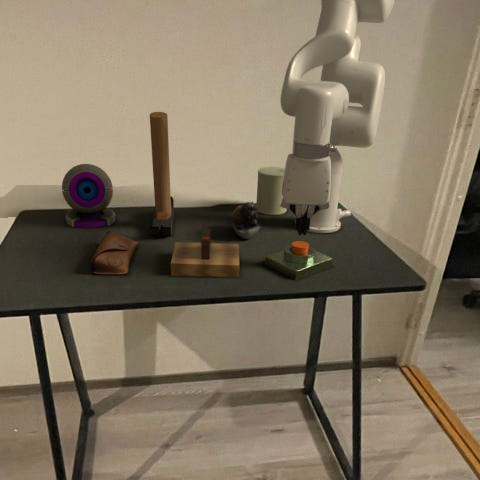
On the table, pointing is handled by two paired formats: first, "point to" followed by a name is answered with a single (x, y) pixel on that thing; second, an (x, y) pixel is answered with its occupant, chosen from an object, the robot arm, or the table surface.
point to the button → (300, 247)
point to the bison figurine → (246, 220)
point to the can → (270, 190)
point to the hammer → (161, 175)
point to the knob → (206, 243)
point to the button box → (298, 262)
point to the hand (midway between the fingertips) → (301, 232)
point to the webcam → (88, 196)
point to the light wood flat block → (205, 260)
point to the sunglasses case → (113, 255)
